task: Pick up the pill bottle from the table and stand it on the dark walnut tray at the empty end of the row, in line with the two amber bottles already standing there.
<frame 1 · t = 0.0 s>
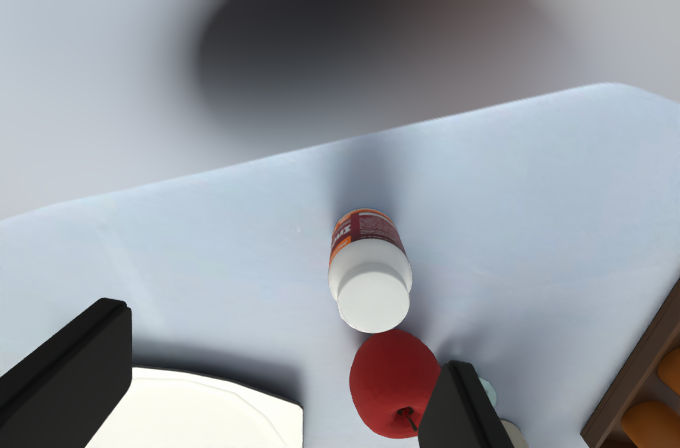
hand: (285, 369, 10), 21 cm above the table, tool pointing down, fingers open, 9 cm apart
apple: (389, 348, 36), on the table
tray: (679, 361, 36), on the table
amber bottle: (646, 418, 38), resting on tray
pacifier: (453, 379, 37), on the table
travel mug: (487, 438, 40), on the table
pill bottle: (364, 236, 32), on the table
plate: (189, 446, 42), on the table
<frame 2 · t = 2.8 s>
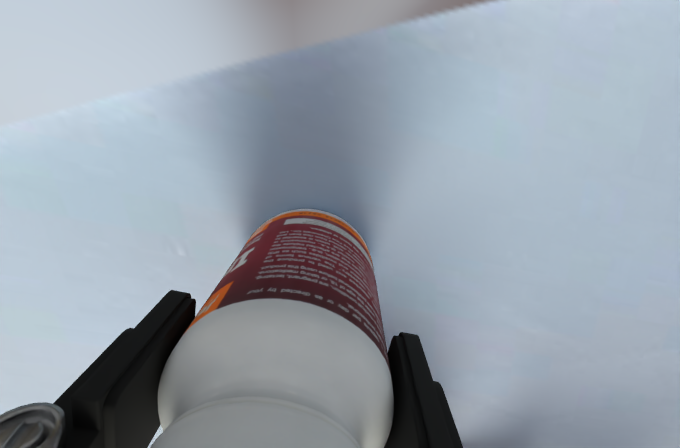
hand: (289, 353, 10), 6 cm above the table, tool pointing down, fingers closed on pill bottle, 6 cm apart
pill bottle: (309, 263, 16), on the table, touching gripper
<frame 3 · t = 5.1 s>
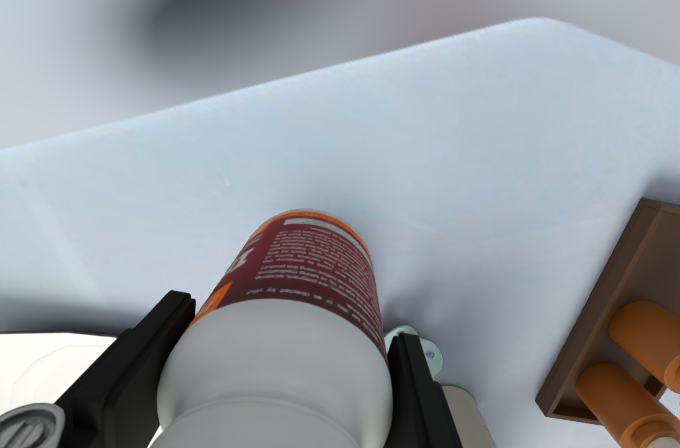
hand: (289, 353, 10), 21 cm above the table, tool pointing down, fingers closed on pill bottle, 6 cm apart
tray: (630, 320, 35), on the table
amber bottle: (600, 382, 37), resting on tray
pacifier: (401, 344, 36), on the table
travel mug: (440, 407, 39), on the table
amber bottle middle: (635, 323, 34), resting on tray
pill bottle: (308, 263, 16), point 15 cm above the table, touching gripper
plate: (133, 421, 40), on the table
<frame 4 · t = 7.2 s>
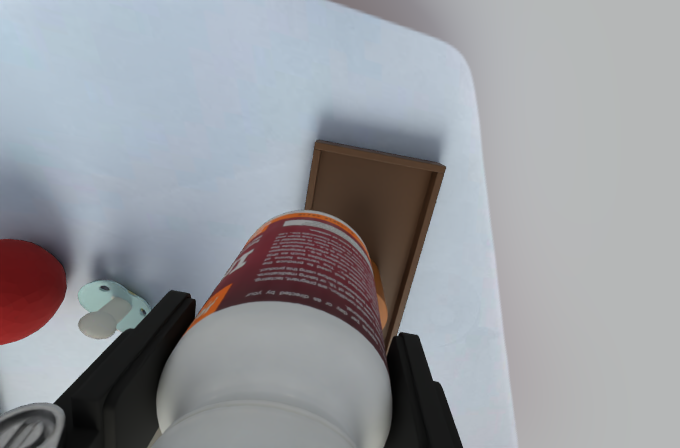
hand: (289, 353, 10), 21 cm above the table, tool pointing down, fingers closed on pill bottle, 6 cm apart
apple: (43, 268, 34), on the table
tray: (351, 274, 33), on the table
pacifier: (125, 303, 35), on the table
amber bottle middle: (351, 277, 33), resting on tray
pill bottle: (308, 265, 16), point 15 cm above the table, touching gripper
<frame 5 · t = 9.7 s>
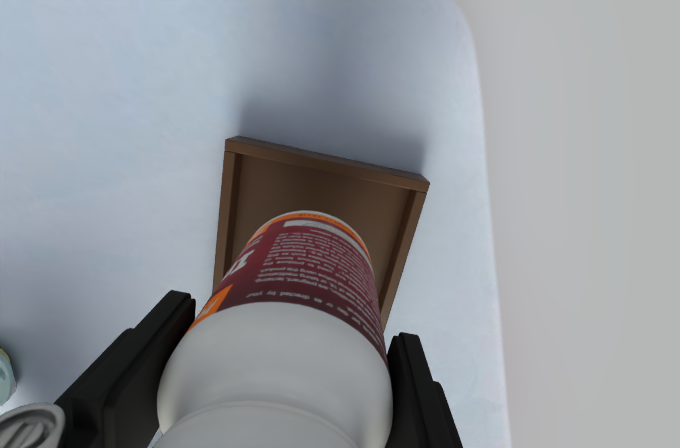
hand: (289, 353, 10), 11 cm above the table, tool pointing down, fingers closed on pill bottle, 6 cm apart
tray: (297, 327, 24), on the table
pill bottle: (308, 265, 16), point 5 cm above the table, touching gripper
when the fingers open (7 cm above the table, at t = 11.4 s): pill bottle stays where it is, resting on tray.
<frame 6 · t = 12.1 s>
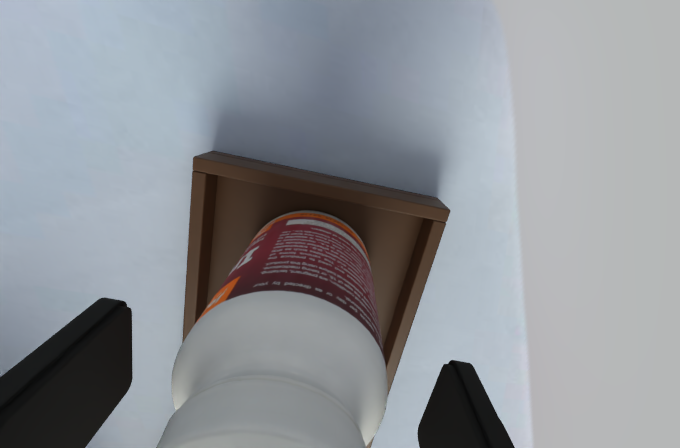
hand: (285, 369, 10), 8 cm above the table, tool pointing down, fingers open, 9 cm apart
tray: (287, 374, 20), on the table
pill bottle: (309, 263, 17), resting on tray
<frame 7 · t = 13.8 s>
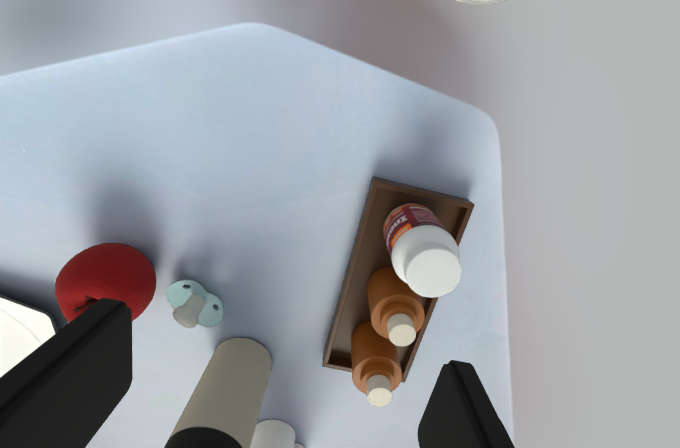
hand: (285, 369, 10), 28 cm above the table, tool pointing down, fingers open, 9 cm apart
vase: (279, 444, 51), on the table
apple: (133, 267, 41), on the table
tray: (388, 284, 41), on the table
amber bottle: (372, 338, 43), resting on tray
pacifier: (198, 299, 42), on the table
travel mug: (243, 358, 45), on the table
amber bottle middle: (389, 286, 40), resting on tray
pill bottle: (408, 227, 38), resting on tray
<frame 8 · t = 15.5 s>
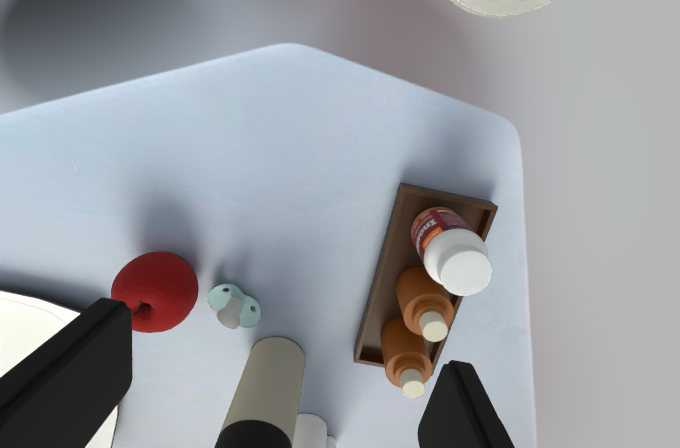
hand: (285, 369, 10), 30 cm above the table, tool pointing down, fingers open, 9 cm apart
vase: (312, 437, 53), on the table
apple: (175, 273, 43), on the table
tray: (415, 283, 43), on the table
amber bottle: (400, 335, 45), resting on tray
pacifier: (235, 301, 45), on the table
travel mug: (278, 356, 48), on the table
amber bottle middle: (416, 285, 43), resting on tray
pill bottle: (434, 229, 40), resting on tray
plate: (29, 365, 49), on the table
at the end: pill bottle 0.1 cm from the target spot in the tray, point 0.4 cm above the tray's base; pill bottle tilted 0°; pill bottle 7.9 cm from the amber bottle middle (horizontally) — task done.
